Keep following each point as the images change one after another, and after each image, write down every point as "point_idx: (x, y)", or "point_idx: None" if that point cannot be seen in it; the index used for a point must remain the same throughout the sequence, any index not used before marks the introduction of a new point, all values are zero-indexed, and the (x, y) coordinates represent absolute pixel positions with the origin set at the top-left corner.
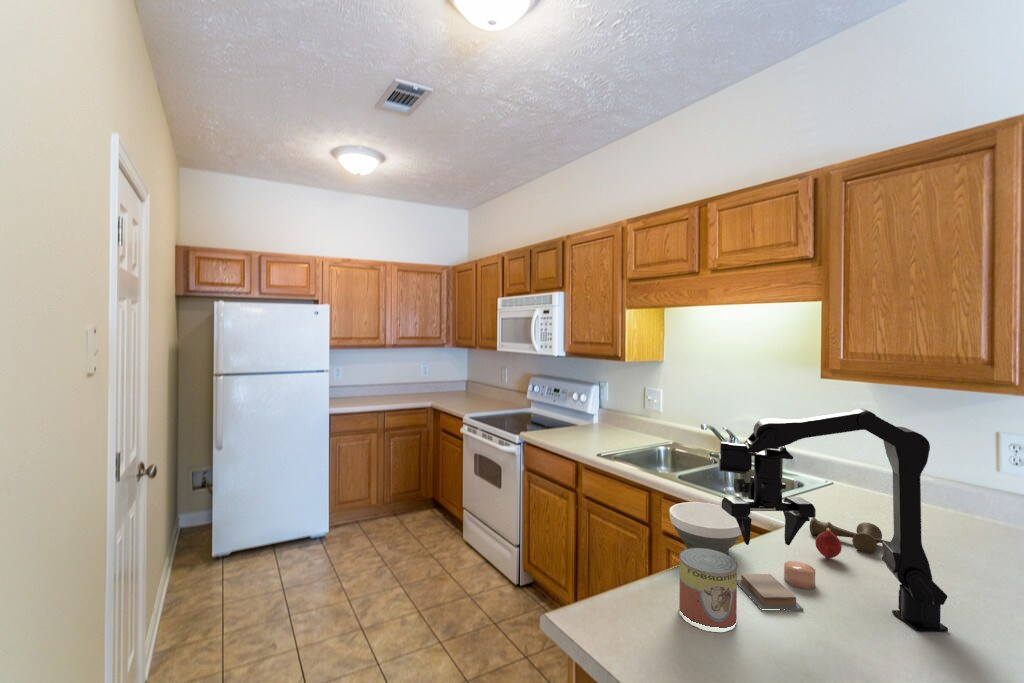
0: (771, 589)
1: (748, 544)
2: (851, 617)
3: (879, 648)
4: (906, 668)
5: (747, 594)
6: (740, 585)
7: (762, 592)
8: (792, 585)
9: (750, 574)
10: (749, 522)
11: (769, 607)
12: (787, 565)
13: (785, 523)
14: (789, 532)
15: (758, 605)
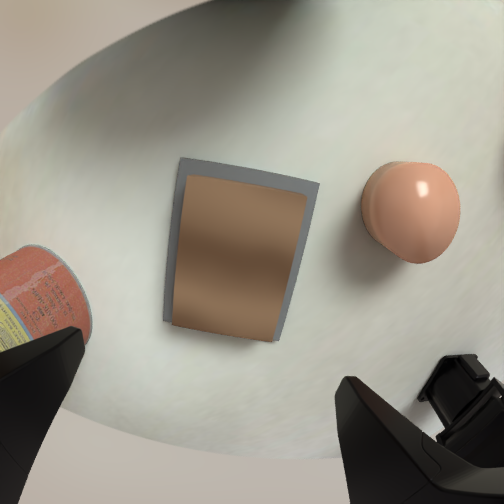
0: (227, 293)
1: (82, 353)
2: (363, 366)
3: (312, 430)
4: (302, 453)
5: (169, 245)
6: (175, 197)
7: (183, 302)
8: (363, 219)
9: (222, 184)
10: (10, 492)
11: None
12: (399, 189)
13: (408, 470)
14: (358, 467)
15: (164, 305)
